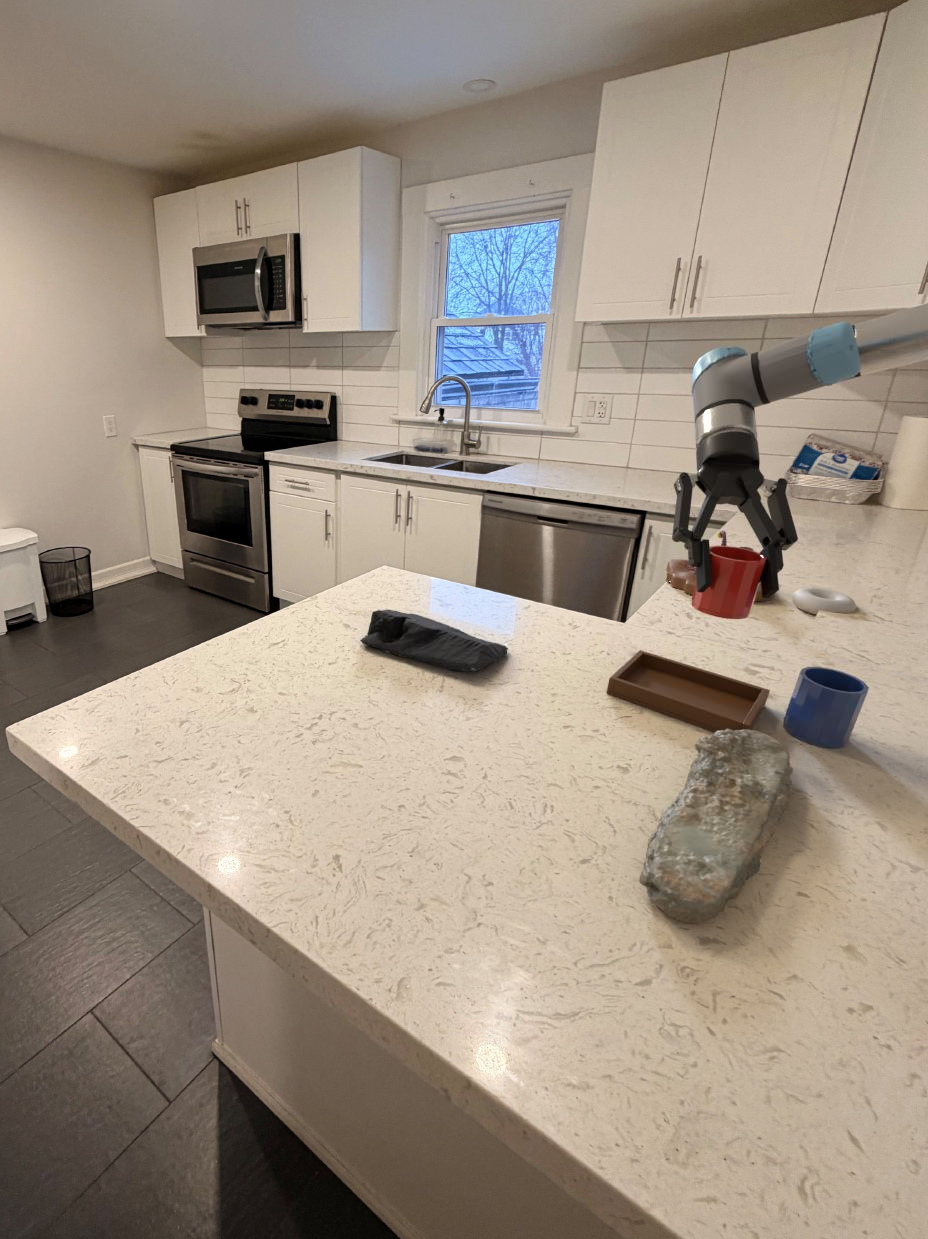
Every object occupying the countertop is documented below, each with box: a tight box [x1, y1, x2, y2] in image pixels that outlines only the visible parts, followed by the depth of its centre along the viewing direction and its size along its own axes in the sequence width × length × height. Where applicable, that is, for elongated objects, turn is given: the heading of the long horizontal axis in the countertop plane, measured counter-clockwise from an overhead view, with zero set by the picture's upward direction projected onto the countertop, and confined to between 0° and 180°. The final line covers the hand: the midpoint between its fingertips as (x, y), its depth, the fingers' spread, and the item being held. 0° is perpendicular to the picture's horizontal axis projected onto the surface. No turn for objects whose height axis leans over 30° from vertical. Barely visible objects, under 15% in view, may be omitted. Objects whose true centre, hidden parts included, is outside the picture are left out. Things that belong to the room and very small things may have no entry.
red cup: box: [690, 545, 767, 620], centre depth 86 cm, size 7×7×8 cm
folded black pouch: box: [359, 609, 509, 672], centre depth 104 cm, size 15×22×5 cm
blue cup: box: [782, 666, 870, 749], centre depth 83 cm, size 7×7×8 cm
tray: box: [605, 649, 771, 733], centre depth 91 cm, size 18×13×3 cm
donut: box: [791, 586, 857, 616], centre depth 123 cm, size 10×4×10 cm
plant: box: [665, 530, 775, 602], centre depth 134 cm, size 20×20×11 cm
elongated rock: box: [638, 728, 794, 925], centre depth 67 cm, size 35×5×10 cm
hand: (737, 590), depth 83 cm, fingers closed on red cup, 7 cm apart
